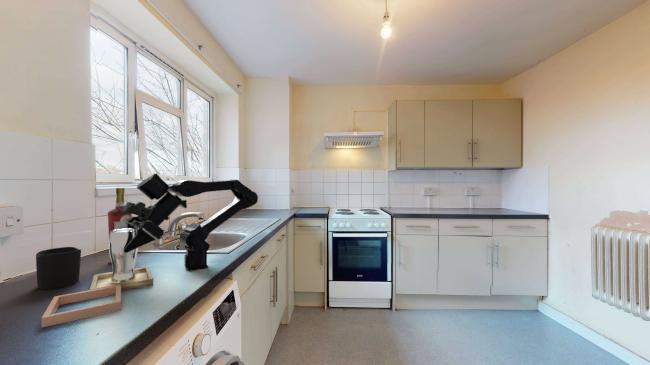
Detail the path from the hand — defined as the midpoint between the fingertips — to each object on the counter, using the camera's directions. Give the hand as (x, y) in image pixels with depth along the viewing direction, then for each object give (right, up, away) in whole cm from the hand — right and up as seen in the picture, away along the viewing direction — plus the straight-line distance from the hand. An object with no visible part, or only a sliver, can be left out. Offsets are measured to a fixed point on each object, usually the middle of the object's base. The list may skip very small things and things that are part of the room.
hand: (120, 249), depth 79 cm
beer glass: (0, -10, +1) cm, 10 cm away
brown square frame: (+3, -10, -15) cm, 18 cm away
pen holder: (-18, -10, -1) cm, 21 cm away
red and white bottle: (-17, -10, +22) cm, 30 cm away
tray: (0, -10, 0) cm, 10 cm away
